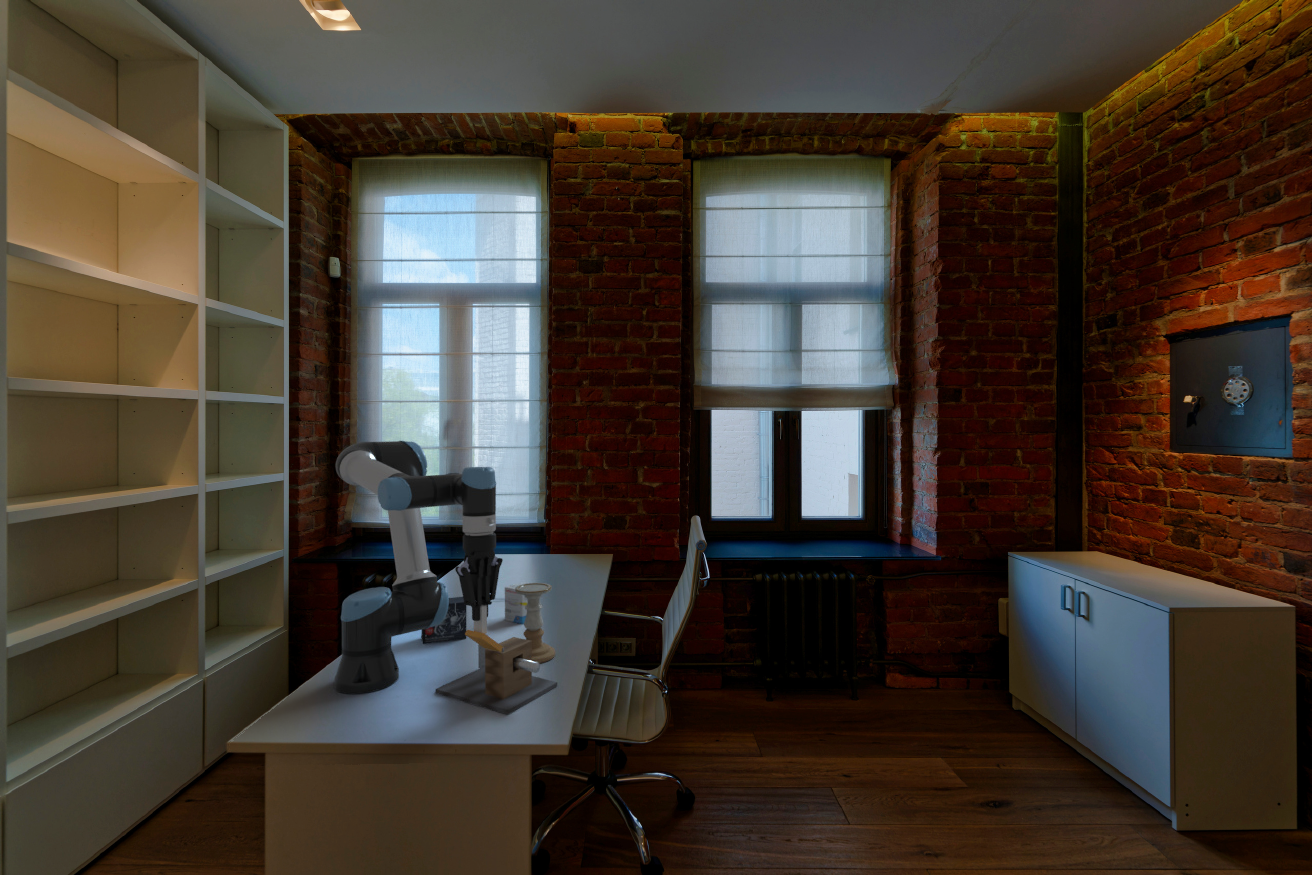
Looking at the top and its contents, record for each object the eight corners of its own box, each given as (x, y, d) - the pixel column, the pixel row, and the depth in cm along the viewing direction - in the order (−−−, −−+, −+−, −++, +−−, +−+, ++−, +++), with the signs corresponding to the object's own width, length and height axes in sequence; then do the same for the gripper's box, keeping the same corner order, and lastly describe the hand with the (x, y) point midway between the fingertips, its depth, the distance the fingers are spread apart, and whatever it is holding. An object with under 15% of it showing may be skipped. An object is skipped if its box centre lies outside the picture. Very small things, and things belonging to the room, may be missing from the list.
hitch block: (435, 692, 152) (435, 644, 152) (488, 668, 168) (488, 624, 168) (507, 714, 140) (507, 662, 140) (557, 686, 156) (557, 639, 156)
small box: (422, 645, 187) (421, 606, 186) (420, 638, 193) (420, 600, 193) (467, 638, 192) (466, 601, 192) (464, 632, 198) (464, 595, 198)
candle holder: (510, 665, 170) (509, 593, 170) (513, 650, 182) (513, 582, 182) (555, 662, 172) (554, 591, 171) (555, 647, 184) (555, 580, 184)
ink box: (539, 617, 213) (539, 584, 213) (522, 624, 206) (521, 590, 206) (521, 613, 218) (521, 581, 218) (504, 620, 211) (503, 586, 210)
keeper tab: (464, 634, 143) (467, 629, 144) (485, 649, 149) (488, 644, 150) (482, 638, 141) (484, 633, 141) (502, 653, 146) (505, 648, 147)
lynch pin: (475, 669, 154) (475, 645, 154) (489, 662, 159) (489, 639, 159) (529, 683, 146) (529, 658, 146) (543, 676, 150) (543, 651, 150)
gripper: (469, 538, 136) (470, 644, 136) (511, 529, 147) (511, 627, 147) (446, 535, 140) (447, 638, 140) (488, 527, 151) (489, 623, 151)
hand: (480, 632), depth 144 cm, fingers closed
